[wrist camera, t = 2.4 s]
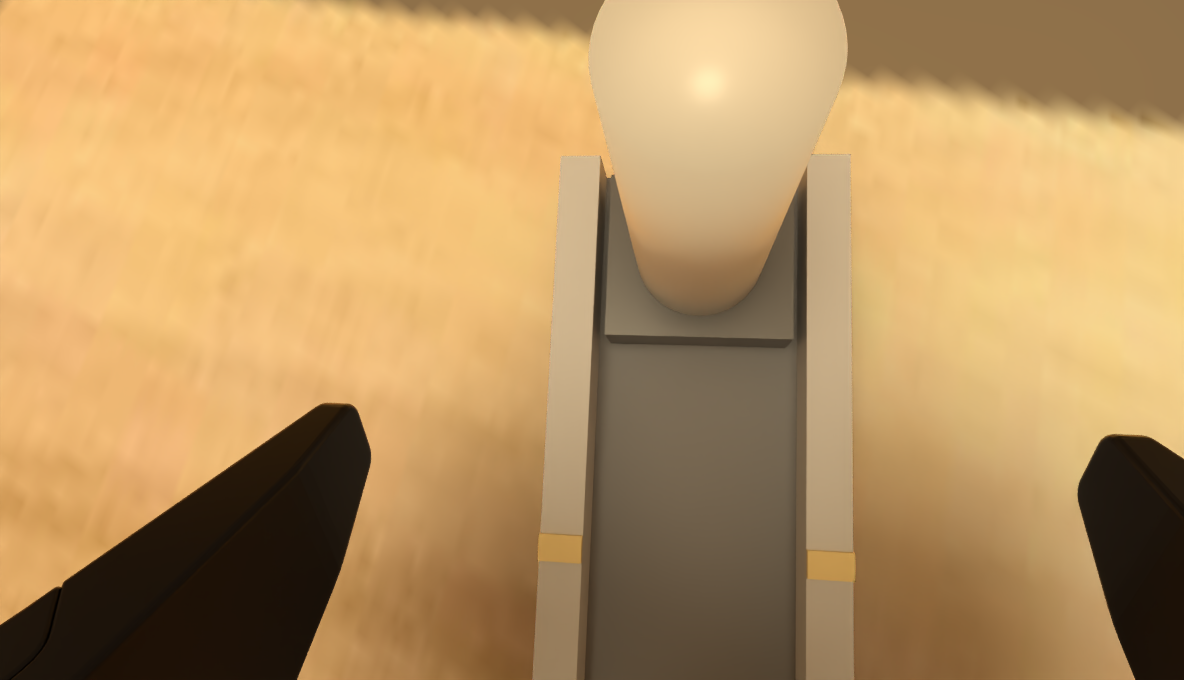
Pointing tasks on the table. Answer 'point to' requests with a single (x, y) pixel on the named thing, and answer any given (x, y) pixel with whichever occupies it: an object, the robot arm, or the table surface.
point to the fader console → (698, 471)
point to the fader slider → (709, 160)
